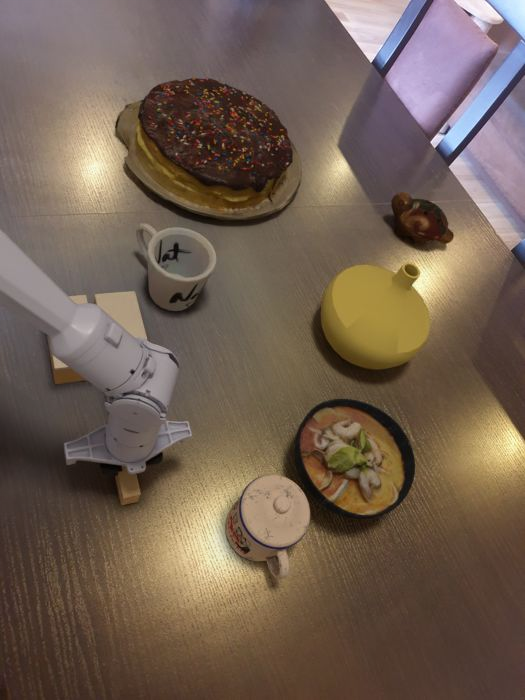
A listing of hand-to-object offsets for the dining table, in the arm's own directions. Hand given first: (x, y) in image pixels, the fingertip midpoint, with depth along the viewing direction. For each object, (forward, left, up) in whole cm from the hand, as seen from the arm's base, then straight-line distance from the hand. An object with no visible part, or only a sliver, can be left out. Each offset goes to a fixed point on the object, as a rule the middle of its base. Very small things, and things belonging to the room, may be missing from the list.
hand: (123, 466), depth 73 cm
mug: (+13, +30, -2) cm, 33 cm away
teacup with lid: (+16, -13, -2) cm, 20 cm away
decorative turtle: (+68, +38, -2) cm, 78 cm away
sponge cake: (0, +20, -2) cm, 20 cm away
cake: (+30, +60, -2) cm, 67 cm away
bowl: (+30, -7, -2) cm, 30 cm away
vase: (+44, +15, -2) cm, 46 cm away
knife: (0, +5, -2) cm, 5 cm away
